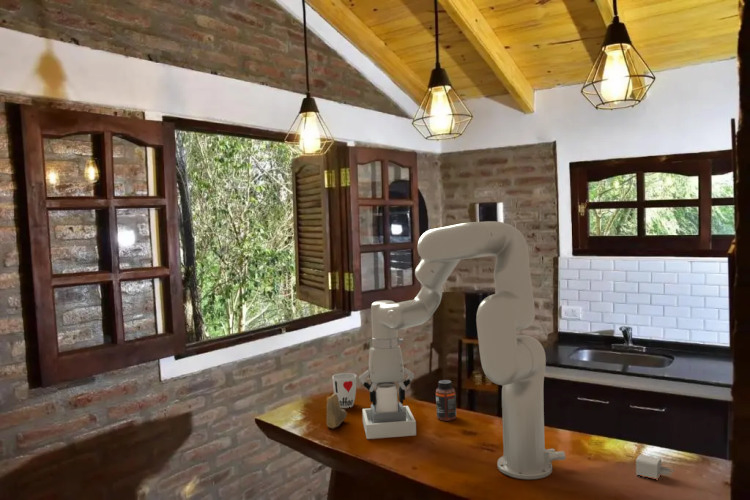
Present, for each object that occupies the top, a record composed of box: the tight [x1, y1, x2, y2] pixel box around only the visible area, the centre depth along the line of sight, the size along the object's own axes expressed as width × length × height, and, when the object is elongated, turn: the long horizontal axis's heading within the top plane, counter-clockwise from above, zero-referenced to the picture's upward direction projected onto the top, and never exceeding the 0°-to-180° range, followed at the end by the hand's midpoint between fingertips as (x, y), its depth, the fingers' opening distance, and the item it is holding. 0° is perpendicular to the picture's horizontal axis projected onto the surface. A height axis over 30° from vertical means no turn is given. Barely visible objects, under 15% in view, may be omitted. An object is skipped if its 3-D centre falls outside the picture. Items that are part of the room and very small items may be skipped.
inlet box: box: [362, 401, 417, 440], centre depth 160 cm, size 14×14×6 cm
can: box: [374, 382, 399, 413], centre depth 159 cm, size 6×6×12 cm
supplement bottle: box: [435, 379, 457, 422], centre depth 166 cm, size 6×6×11 cm
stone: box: [326, 393, 348, 429], centre depth 164 cm, size 9×5×10 cm, turn 155°
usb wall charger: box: [635, 454, 674, 478], centre depth 123 cm, size 4×7×4 cm, turn 50°
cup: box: [331, 372, 357, 409], centre depth 182 cm, size 8×8×10 cm
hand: (387, 402), depth 159 cm, fingers open, 7 cm apart
